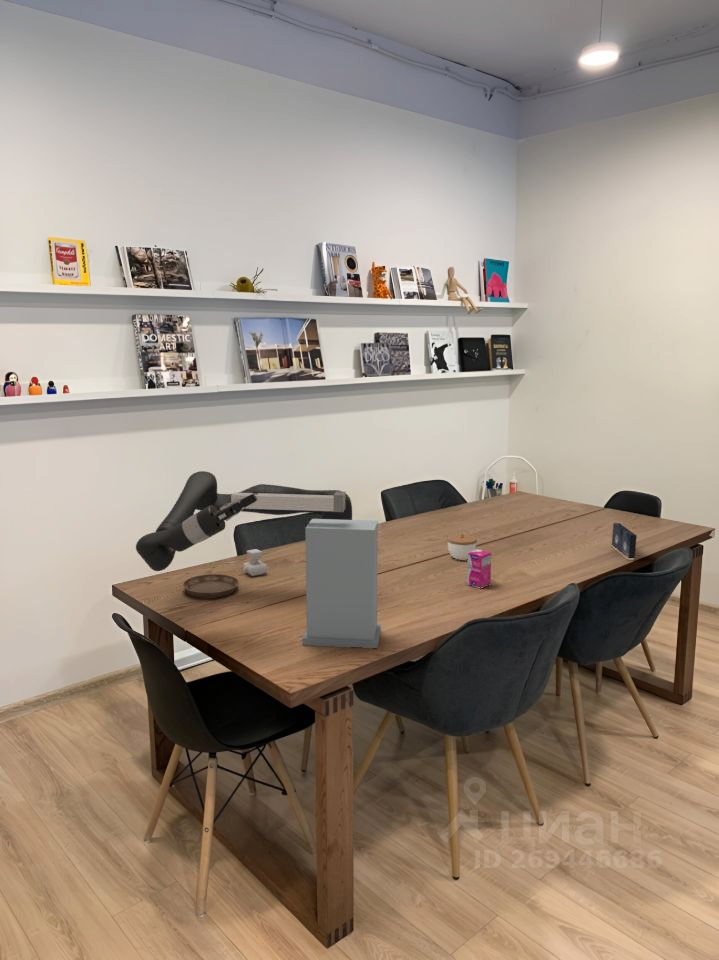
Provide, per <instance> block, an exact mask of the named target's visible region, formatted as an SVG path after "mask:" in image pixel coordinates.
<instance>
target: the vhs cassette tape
mask: <svg viewBox="0 0 719 960" xmlns="http://www.w3.org/2000/svg"><path fill="white" fill-rule="evenodd" d="M612 525H613V526H612V527H613V528H612V537H611V546H612V545H613V546H614V547H615V548H617V549H618V550H619V551H620V552H622V553H623V554H624V555H625V556H627V557H628V558H636V549H637V548H636V547H637V537H638V536H637V534H635V533H634V532H633V531H631V530H630V529H628V528H627V527H625V525H622V523H620V522H614V523H613V524H612Z"/></svg>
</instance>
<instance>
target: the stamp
mask: <svg viewBox="0 0 719 960" xmlns="http://www.w3.org/2000/svg"><path fill="white" fill-rule="evenodd" d="M246 555H247V557H248V558H249V559H251V561H247V562H243V564H242V568H243V570H242V571H243V572H244V573H247V574H248V575H250V576H252V577H255V576H262V575H264V574H265V572H267V570H268V569H269V567H268V565H267V563H264V562H262V561H260V560H259V559H260V558H262V557H263V551H261V550H259V549H257V548H255V549H254V548H253V549H249V550H248V549H247V550H246Z"/></svg>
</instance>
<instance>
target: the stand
mask: <svg viewBox="0 0 719 960" xmlns="http://www.w3.org/2000/svg"><path fill="white" fill-rule="evenodd" d="M378 526H379V521H378V520H365V519H362V520H361V519H352V520H336V519H322V518H311V520H310V521H309V522H308V524H307V525H306V527H305V528H304V529H305V583H306V584H305V595H306V596H305V600H306V604H305V605H306V608H305V610H306V614H305V615H306V630H305V632H304V634H303V636H302V638H301V639H302V640H301V641H302V646H310V647H311V646H312V647H313V646H315V647H331V646H334V647H333V648H337V647H338V648H351V647H362V648H361V649H372V648H377V649H378V648H379V647H378V646H379V641H380V638H379V637H381V632H382V624H380V623H379V624H378V563H379V562H378V559H379V557H378V545H379V541H378V539H379V538H378V537H379V536H378V535H379V527H378Z"/></svg>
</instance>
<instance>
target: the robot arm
mask: <svg viewBox="0 0 719 960" xmlns="http://www.w3.org/2000/svg"><path fill="white" fill-rule="evenodd" d="M336 491H337V492H343V491H342V490H339V489H333V490H329V489H328V490H321V489H320V490H319V489H316V490H315V489H311V490H310V489H304V488H297V487H289V486H283V485H276V484H265V483H264V484H263V483H260V484H255V485H252V486H251V487H249V488H246V489H243V490H241V491H240V492H238V493H266V494H300V495H334V494H335V492H336ZM232 494H233V493H218V481H217V478H216V476H215V475H214V474H213V473H211V472H209V471H206V470H205V471H203V470H202V471H201V470H200V471H197V472H194V473H192V474H191V475H190V476H189V477H188V478H187V480H186V482H185V485H184V487H183V489H182V491H181V493H180V494H179V496H178V498H177V500H176V502H175V504H174V505H173V507H172V508H171V510H169V512H168V514H167V515H166V516H165V518H164V519H163V520H162V521H161V523H159V525H158V526H157V527H156V530H155V531H153V532H151V533H147V534H145V535H144V536H143V535H142V537H140V538H139V539H138V540H137V542H136V545H135V551H136V552H137V554H138V555H139V556H140V557H141V558H142V560H143V561H144V562H145V563H146V564H147V566H148V567H149V568H150V569H151V570H153V571H154V572H161V571H163V570H166V569H167V568H168V567H169V566H170V565H171V564H172V562H173V560H174V559H175V555H176V552H178V553H179V552H184V551H186V550H187V549H189V548H191V547H193V546H195V545H197V544H199V543H201V542H204V541H206V540H208V539H209V538H211V537H213V536H215V535H217V534H219V533H220V532H222V531H224V530H225V529H226V522H227V521H230V520H231V519H232V518H234V517H235V516H238V514H239V513H241V512H243V513H245V512H246V513H256V514H262V515H263V514H264V515H273V516H285V515H294V514H302V513H303V514H304V513H309V514H315V515H321V519H336V520H353V506H352V501H351V498H350V496H349V495H348V494H347V493H346V492H345V510H344V512H334V511H305V510H273V509H244V508H245V507H247V506H249V505H250V504H252V503H254V502H256V501H257V499H256V497H255V495H254V494H251V495H249V496H247V497H246V498H244V499H242V500H238V501H237V502H236V503H231V495H232ZM241 501H242V502H241ZM244 506H245V507H244ZM196 510H198V512H196Z"/></svg>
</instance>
